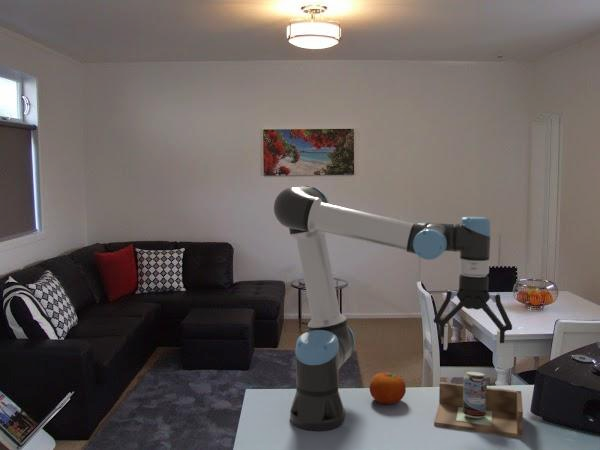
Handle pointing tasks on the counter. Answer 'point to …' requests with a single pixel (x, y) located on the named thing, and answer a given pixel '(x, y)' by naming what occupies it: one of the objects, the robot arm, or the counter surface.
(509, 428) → the tray
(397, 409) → the counter surface
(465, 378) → the labeled jar
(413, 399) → the counter surface
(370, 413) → the counter surface
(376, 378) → the fruit
